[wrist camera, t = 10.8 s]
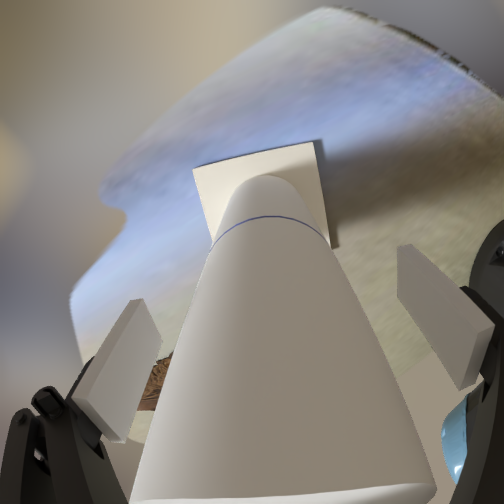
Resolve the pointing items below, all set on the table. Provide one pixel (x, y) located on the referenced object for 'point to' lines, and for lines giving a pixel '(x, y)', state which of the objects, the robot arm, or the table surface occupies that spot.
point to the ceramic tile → (256, 164)
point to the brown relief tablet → (154, 385)
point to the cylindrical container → (279, 377)
